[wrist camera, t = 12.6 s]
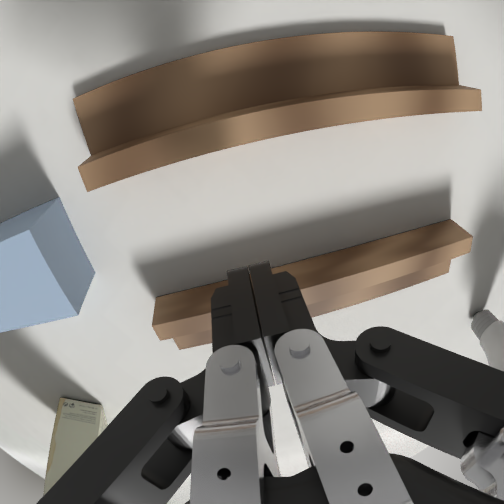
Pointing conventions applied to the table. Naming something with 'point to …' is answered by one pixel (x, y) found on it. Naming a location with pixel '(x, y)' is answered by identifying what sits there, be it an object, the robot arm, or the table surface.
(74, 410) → the skincare box
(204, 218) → the table surface
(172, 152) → the chute
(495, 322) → the lightbulb
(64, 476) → the robot arm
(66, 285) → the block
